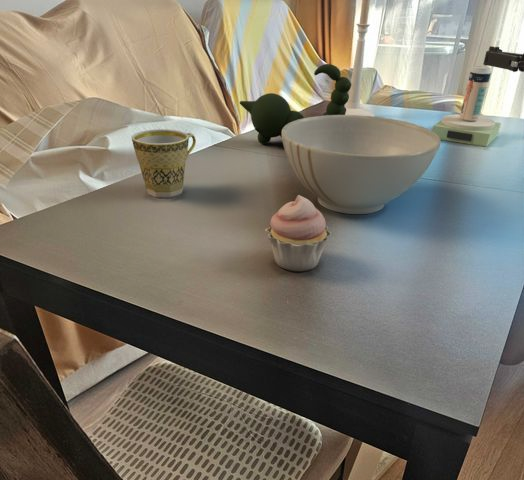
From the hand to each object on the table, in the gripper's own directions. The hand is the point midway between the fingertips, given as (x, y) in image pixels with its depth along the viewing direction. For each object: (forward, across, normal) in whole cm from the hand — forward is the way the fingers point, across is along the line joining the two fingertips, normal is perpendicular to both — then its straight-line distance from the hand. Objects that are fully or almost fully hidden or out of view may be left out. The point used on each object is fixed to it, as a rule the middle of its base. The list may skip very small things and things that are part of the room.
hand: (520, 54), depth 113 cm
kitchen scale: (+9, -5, -20) cm, 23 cm away
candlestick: (+27, -33, -20) cm, 47 cm away
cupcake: (-67, -49, -20) cm, 85 cm away
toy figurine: (-6, -50, -20) cm, 55 cm away
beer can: (+9, -5, -16) cm, 19 cm away
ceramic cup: (-39, -73, -20) cm, 85 cm away
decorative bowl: (-42, -39, -20) cm, 60 cm away
